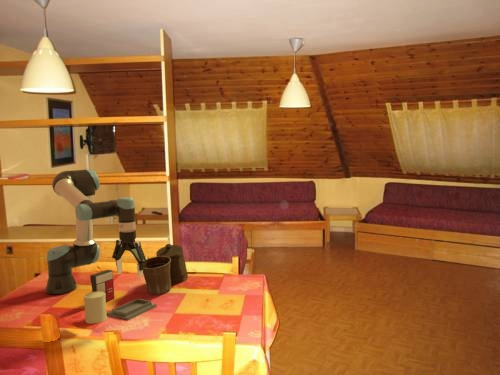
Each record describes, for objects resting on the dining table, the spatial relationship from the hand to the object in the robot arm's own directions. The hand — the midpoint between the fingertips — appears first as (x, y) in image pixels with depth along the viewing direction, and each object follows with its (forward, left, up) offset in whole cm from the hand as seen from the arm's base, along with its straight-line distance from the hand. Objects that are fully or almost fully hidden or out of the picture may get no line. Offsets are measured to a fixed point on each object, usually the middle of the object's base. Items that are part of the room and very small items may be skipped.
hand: (129, 275), depth 195 cm
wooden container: (-10, +42, -16) cm, 46 cm away
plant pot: (-7, +26, -17) cm, 31 cm away
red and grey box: (-22, +2, -17) cm, 28 cm away
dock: (0, 0, -17) cm, 17 cm away
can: (-7, -15, -17) cm, 24 cm away
